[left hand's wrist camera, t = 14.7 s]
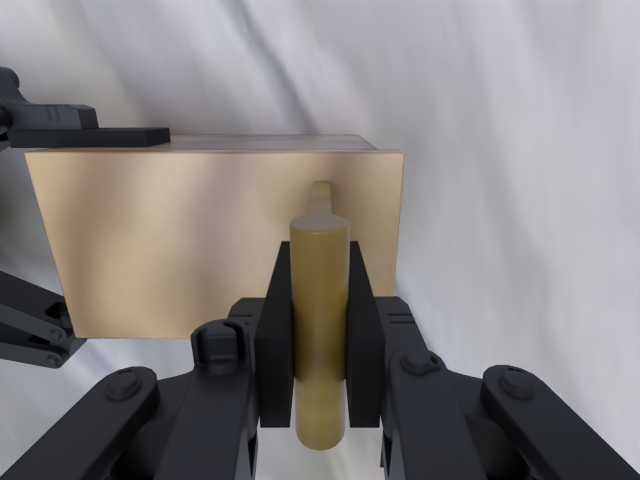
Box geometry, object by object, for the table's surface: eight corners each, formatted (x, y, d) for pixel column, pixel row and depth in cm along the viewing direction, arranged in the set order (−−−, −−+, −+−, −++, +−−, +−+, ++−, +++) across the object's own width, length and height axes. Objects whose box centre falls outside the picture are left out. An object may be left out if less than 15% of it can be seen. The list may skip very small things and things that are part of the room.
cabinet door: (400, 149, 16) (469, 189, 8) (386, 328, 19) (427, 476, 11) (42, 149, 16) (-215, 187, 8) (88, 326, 19) (-67, 470, 12)
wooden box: (358, 134, 24) (377, 148, 16) (353, 260, 28) (368, 324, 19) (135, 135, 24) (42, 149, 16) (156, 260, 28) (89, 325, 19)
